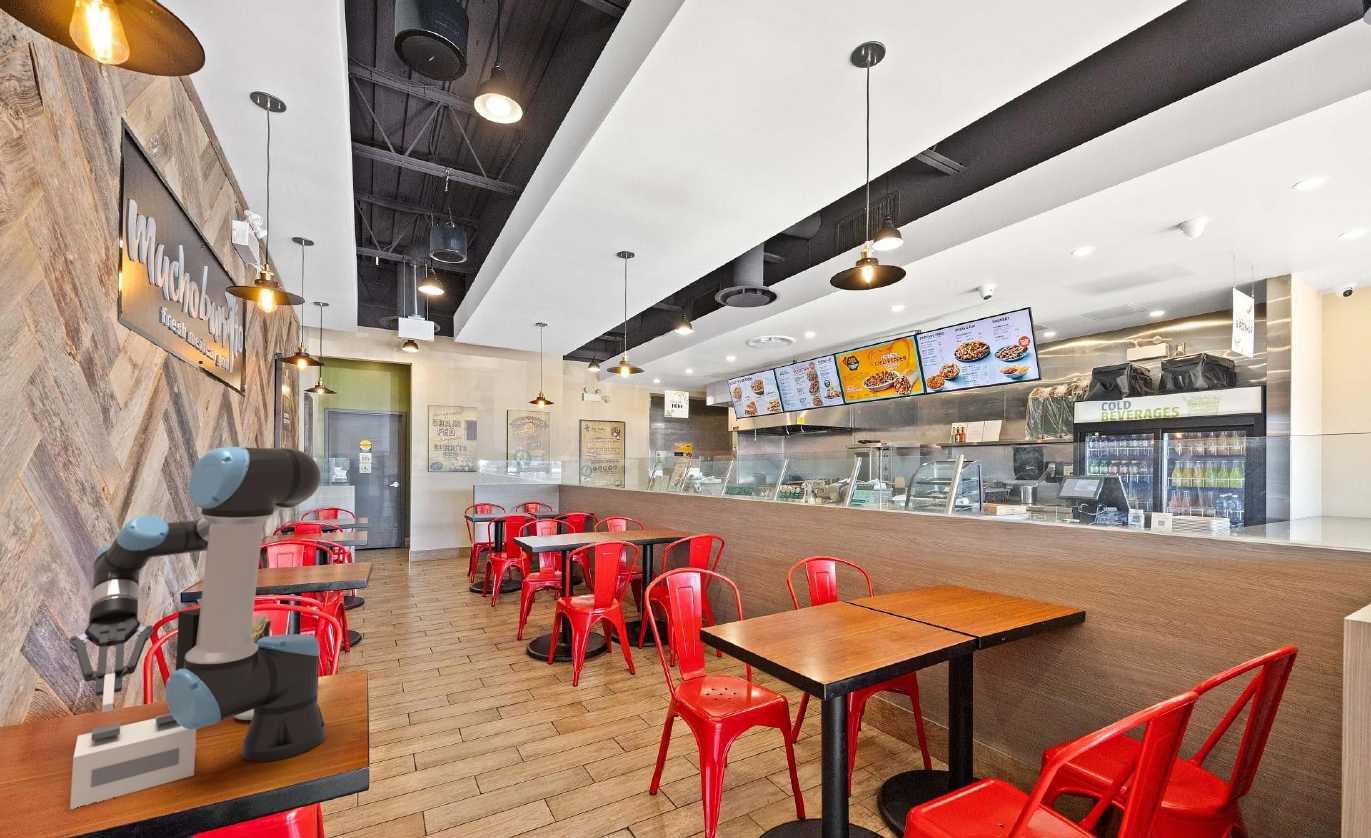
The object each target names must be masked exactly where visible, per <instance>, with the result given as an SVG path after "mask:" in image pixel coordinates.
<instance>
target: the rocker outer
mask: <svg viewBox="0 0 1371 838" xmlns="http://www.w3.org/2000/svg"><path fill="white" fill-rule="evenodd" d="M120 726H121V722H120V721H119V722H114V723H110V724H106V725H102V726H101V725H99V726H97V727H93V728H92V732H91V733H92V739H91V741H92V740H96V739H100V738H105V737H109V736H113V735H118V734H120Z"/></svg>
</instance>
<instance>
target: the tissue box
mask: <svg viewBox="0 0 1371 838" xmlns="http://www.w3.org/2000/svg"><path fill="white" fill-rule="evenodd" d="M201 599H202V598H198V599H196V601H197V602H198V604H199V606H200V607H199V608H193V609H186V610H182V611H178V614H177V621H178V622H177V623H178V624H177V639H176V658H175V660H176V661H175V671H177V670H179V669H183V668H184V661H185V655H186V653H187V652H189V651H190V650H191V649H192V648H193V647H195V646H196V643H197V634H198V625H199V617H200V608H201Z"/></svg>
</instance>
